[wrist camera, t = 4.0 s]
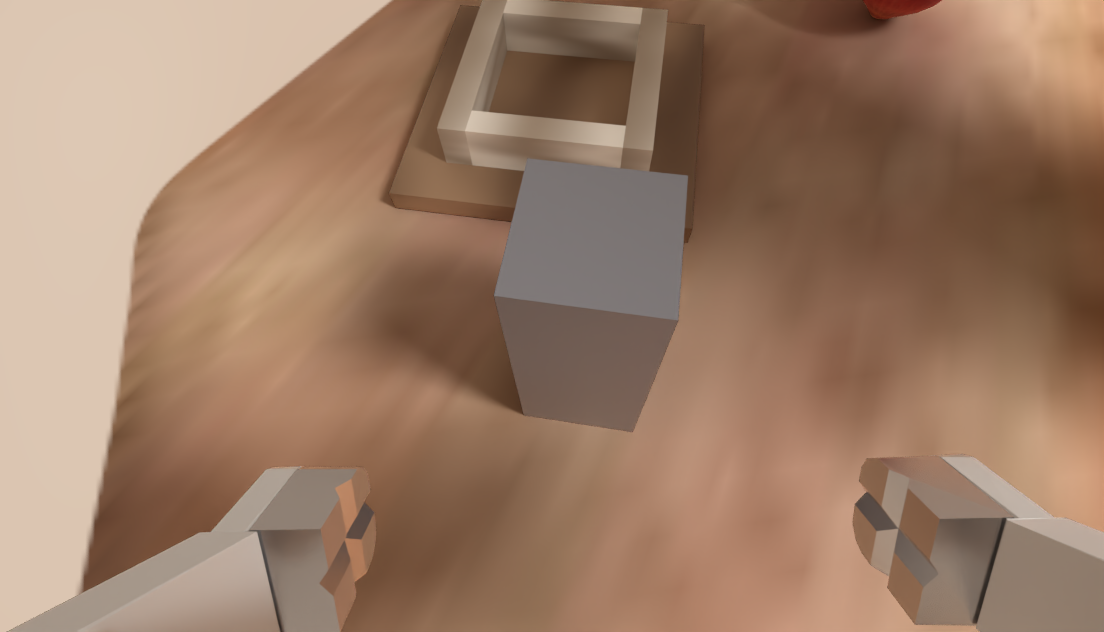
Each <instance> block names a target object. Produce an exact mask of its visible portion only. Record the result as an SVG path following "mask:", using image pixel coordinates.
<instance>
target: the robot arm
mask: <svg viewBox="0 0 1104 632" xmlns="http://www.w3.org/2000/svg"><path fill="white" fill-rule="evenodd" d="M859 482H860V483H861V485H862V486H863V488H864V489H865V491H866V493H865V494H864V495H863V496H862V497H861V498H860V499H859V500H858V501H857V502H856V503H855V507H854V514H853V527H854V533H855V539H856V541H857V544H858V546H859V548H860V550H861V553H862V554H863V555H864V557H865V558H866V560H867V561H868V562H869V564H870V565H871V566H873V567H874V568H876V569H878V570H879V571H881V572H883V573H884V574H886V575H888V576H889V579H888V586H887V588H888V589H889V591H890V592H891V593H892V595H893V596H894V597H895V599H896V600H897V601H898V603H899V604H900V605H901V607H902V608H903V609H904V611H905V612H906V613H907V615H908V616H909V617H910V619H911V620H912V621H913V623H914V624H915V625H977V626H976V629H977V630H979V631H980V632H1104V532H1101V531H1099V530H1096V529H1094V528H1091V527H1088V526H1086V525H1083V524H1081V523H1078V522H1076V521H1073V520H1070V519H1068V518H1054V517H1053V516H1052V515H1050V514H1049V513H1048V512H1046V511H1045V510H1044V509H1042V508H1041V507H1040V506H1038V505H1037V504H1036V503H1034V502H1033V501H1032V500H1030V499H1029V498H1028V497H1026V496H1025V495H1024V494H1022V493H1021V492H1020V491H1018V490H1017V489H1016V488H1014V487H1013V486H1012V485H1010V484H1009V483H1008V482H1006V481H1005V480H1004V479H1002V478H1001V477H1000V476H998V475H997V474H996V473H994V472H993V471H992V470H990V469H989V468H988V467H986V466H985V465H984V464H982V463H981V462H980V461H978V460H977V459H976V458H974V457H972V456H968V455H965V454H949V455H931V456H915V457H890V458H867V459H866V461H865V462H864V464H863V466H862V467H861V473H860V478H859ZM370 490H371V487H370V482H369V477H368V472H367V471H366V470H365V469H364V468H363V467H307V466H304V467H300V466H292V467H273V468H269V469H266V470H265V471H264V472H263V474H262V475H261V476H260V477H259V478H258V479H257V480H256V481H255V483H254V484H253V485H252V486H251V487H250V488H249V489H248V490H247V492H246V493H245V494H244V495H243V496H242V497H241V498H240V499H239V501H238V502H237V503H236V504H235V505H234V506H233V507H232V508H231V510H230V511H229V512H228V513H227V514H226V515H225V516H224V517H223V519H222V520H221V521H220V522H219V523H218V524H217V525H216V526H215V527H214V529H213V530H212V531H211V532H200V533H198V534H196V535H194V536H192V537H190V538H188V539H186V540H184V541H182V542H180V543H178V544H176V545H174V546H172V547H170V548H169V549H167V550H165V551H163V552H161V553H159V554H157V555H155V556H153V557H151V558H149V559H147V560H145V561H143V562H141V563H139V564H137V565H136V566H134V567H132V568H130V569H128V570H126V571H124V572H122V573H120V574H118V575H116V576H114V577H112V578H110V579H108V580H106V581H104V582H103V583H101V584H99V585H97V586H95V587H93V588H91V589H89V590H87V591H85V592H83V593H81V594H79V595H77V596H75V597H73V598H72V599H70V600H68V601H66V602H64V603H62V604H60V605H58V606H56V607H54V608H52V609H50V610H48V611H46V612H44V613H42V614H41V615H38V616H37V617H35V618H33V619H31V620H29V621H27V622H25V623H23V624H21V625H19V626H17V627H15V628H13V629H11V630H9V631H7V632H341V630H342V628H343V625H344V623H345V621H346V619H347V616H348V614H349V612H350V610H351V607H352V605H353V603H354V601H355V598H356V596H357V595H356V589H355V583H354V582H356V581H357V580H358V579H359V578H361V577H362V576H363V575H365V574H366V573H367V571H368V568H369V566H370V563H371V561H372V558H373V553H374V548H375V543H376V521H375V513H374V512H373V511H372V509H371V508H370V507H369V506H368V505H367V504H366V503H365V500H366V498H367V496H368V494H369V492H370Z"/></svg>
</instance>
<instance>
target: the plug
mask: <svg viewBox="0 0 1104 632" xmlns="http://www.w3.org/2000/svg"><path fill="white" fill-rule="evenodd" d="M687 184H688V176H687V175H678V174H669V173H659V172H650V171H641V170H631V169H622V168H613V167H603V166H594V165H585V164H576V163H566V162H557V161H548V160H538V159H529V158H527V162H526V166H525V170H524V174H523V178H522V182H521V186H520V190H519V194H518V199H517V203H516V207H515V211H514V215H513V219H512V223H511V227H510V231H509V235H508V239H507V244H506V248H505V252H504V256H503V260H502V264H501V268H500V272H499V276H498V280H497V284H496V288H495V293H494V299H495V303H496V307H497V311H498V315H499V319H500V323H501V327H502V331H503V335H504V339H505V343H506V347H507V351H508V355H509V359H510V362H511V366H512V370H513V374H514V378H515V382H516V386H517V390H518V394H519V398H520V402H521V406H522V410H523V414H524V415H526V416H532V417H539V418H545V419H552V420H558V421H564V422H571V423H577V424H584V425H590V426H597V427H603V428H610V429H616V430H623V431H629V432H633V430H634V428H635V426H636V423H637V421H638V418H639V416H640V413H641V411H642V408H643V406H644V403H645V401H646V399H647V396H648V394H649V391H650V389H651V386H652V384H653V381H654V379H655V376H656V374H657V371H658V369H659V367H660V364H661V362H662V359H663V357H664V354H665V352H666V349H667V347H668V344H669V342H670V340H671V337H672V335H673V332H674V330H675V327H676V325H677V322H678V317H679V302H680V288H681V273H682V258H683V243H684V229H685V214H686V199H687Z"/></svg>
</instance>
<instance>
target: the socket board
mask: <svg viewBox="0 0 1104 632" xmlns="http://www.w3.org/2000/svg"><path fill="white" fill-rule="evenodd" d="M667 17H668V10H664V9H652V8H639V7H626V6H613V5H601V4H588V3H575V2H562V1H550V0H482V3H481V5H480V7H474V6H462V5H460V8H459V11H458V13H457V16H456V19H455V21H454V24H453V26H452V29H451V32H450V34H449V37H448V40H447V42H446V45H445V47H444V50H443V53H442V55H441V58H440V61H439V63H438V66H437V68H436V71H435V74H434V76H433V79H432V81H431V84H430V87H429V89H428V92H427V95H426V97H425V100H424V102H423V105H422V108H421V110H420V113H419V116H418V118H417V121H416V123H415V126H414V129H413V131H412V134H411V136H410V139H409V142H408V144H407V147H406V150H405V152H404V155H403V157H402V160H401V163H400V165H399V168H398V171H397V173H396V176H395V178H394V181H393V184H392V186H391V189H390V191H389V195H390V197H391V199H392V201H393V203H394V206H395V208H402V209H410V210H419V211H427V212H435V213H444V214H452V215H461V216H469V217H477V218H486V219H494V220H502V221H511V222H512V219H513V215H514V211H515V207H516V203H517V199H518V194H519V190H520V186H521V182H522V178H523V174H524V170H525V166H526V162H527V158H529V159H538V160H548V161H557V162H566V163H576V164H585V165H594V166H603V167H613V168H622V169H631V170H641V171H650V172H659V173H669V174H678V175H687V176H688V184H687V199H686V214H685V229H684V242H686V243H688V240H689V237H690V234H691V231H692V226H693V209H694V192H695V176H696V159H697V142H698V125H699V109H700V92H701V75H702V58H703V42H704V25H697V24H685V23H673V22H667Z"/></svg>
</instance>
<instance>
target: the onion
mask: <svg viewBox="0 0 1104 632" xmlns="http://www.w3.org/2000/svg"><path fill="white" fill-rule="evenodd" d="M940 1H942V0H863V2H864V3H865V4H866V6H867V9H868V11H869V13H870V14H871V16H873V17H874V18H876V19H889V18H892V17H897V16H904V15H908V14H913V13H917V12H920V11H922V10H925V9H927V8H930V7H932V6H934V5H936V4H937V3H939V2H940Z"/></svg>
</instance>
